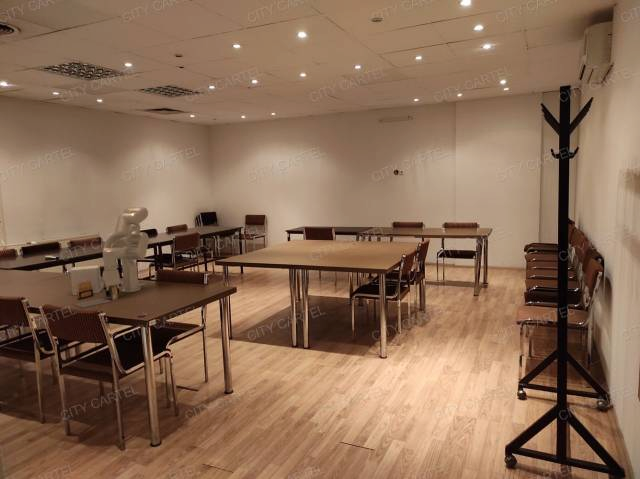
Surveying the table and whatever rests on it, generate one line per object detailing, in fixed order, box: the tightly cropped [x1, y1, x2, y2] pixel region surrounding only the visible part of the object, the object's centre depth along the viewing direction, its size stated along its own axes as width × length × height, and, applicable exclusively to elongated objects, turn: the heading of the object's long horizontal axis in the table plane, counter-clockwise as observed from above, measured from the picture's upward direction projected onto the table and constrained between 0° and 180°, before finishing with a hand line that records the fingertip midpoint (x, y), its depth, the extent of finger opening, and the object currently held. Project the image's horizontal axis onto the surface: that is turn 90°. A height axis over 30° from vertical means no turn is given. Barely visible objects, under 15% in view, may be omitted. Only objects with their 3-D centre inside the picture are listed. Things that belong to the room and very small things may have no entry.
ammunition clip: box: [76, 280, 95, 301], centre depth 308 cm, size 11×2×12 cm, turn 153°
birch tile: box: [107, 285, 119, 301], centre depth 304 cm, size 3×7×8 cm, turn 50°
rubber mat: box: [73, 297, 113, 309], centre depth 293 cm, size 18×14×1 cm
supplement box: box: [69, 264, 103, 296], centre depth 324 cm, size 17×13×18 cm
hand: (112, 295), depth 304 cm, fingers open, 5 cm apart
